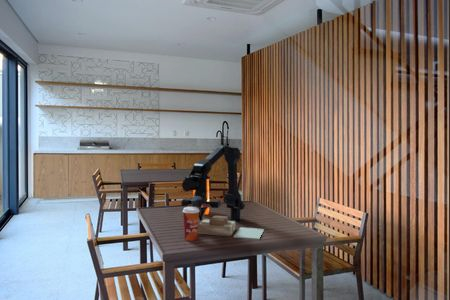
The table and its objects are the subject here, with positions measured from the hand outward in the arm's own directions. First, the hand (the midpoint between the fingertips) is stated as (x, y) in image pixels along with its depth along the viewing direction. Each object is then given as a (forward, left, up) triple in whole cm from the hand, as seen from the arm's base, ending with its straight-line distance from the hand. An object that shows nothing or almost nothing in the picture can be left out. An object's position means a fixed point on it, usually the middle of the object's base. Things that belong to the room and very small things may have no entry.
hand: (201, 220), depth 179 cm
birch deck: (0, +8, -5) cm, 9 cm away
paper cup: (+15, 0, -5) cm, 16 cm away
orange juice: (-36, -11, -5) cm, 38 cm away
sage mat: (0, +24, -5) cm, 25 cm away
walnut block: (0, +9, -1) cm, 9 cm away
